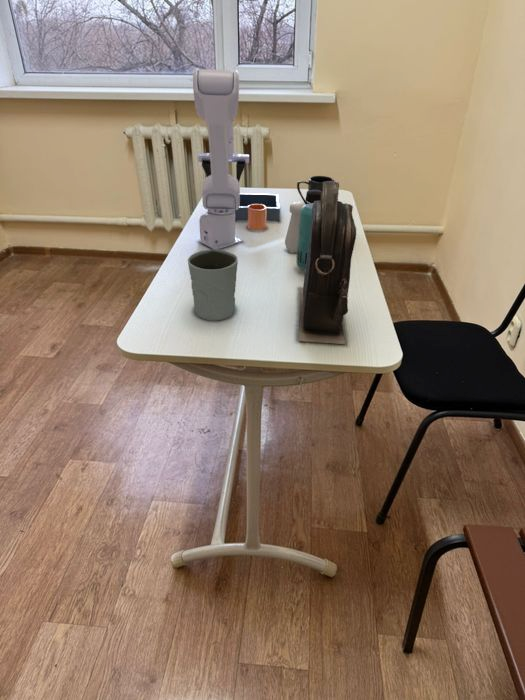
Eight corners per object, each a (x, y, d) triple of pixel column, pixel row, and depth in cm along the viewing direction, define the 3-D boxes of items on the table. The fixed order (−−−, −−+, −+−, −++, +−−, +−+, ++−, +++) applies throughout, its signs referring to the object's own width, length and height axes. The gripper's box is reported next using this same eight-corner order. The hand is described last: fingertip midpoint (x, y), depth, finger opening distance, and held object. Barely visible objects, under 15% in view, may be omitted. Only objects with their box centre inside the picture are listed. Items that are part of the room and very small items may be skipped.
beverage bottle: (322, 266, 122) (331, 188, 110) (318, 278, 117) (327, 197, 105) (298, 263, 123) (304, 185, 111) (292, 274, 118) (298, 193, 106)
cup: (255, 233, 139) (256, 211, 135) (243, 227, 142) (244, 206, 139) (269, 228, 142) (270, 207, 138) (257, 223, 145) (258, 202, 142)
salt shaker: (305, 255, 127) (309, 207, 120) (284, 254, 127) (287, 206, 120) (304, 246, 132) (308, 200, 125) (284, 245, 132) (286, 199, 125)
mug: (294, 204, 161) (295, 175, 156) (328, 204, 162) (331, 175, 156) (296, 212, 154) (298, 182, 149) (333, 212, 155) (336, 183, 150)
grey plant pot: (195, 324, 98) (192, 272, 91) (187, 301, 106) (184, 251, 99) (243, 318, 100) (243, 266, 93) (232, 296, 108) (231, 246, 101)
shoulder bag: (299, 288, 112) (310, 165, 96) (338, 290, 112) (355, 167, 95) (298, 342, 94) (311, 201, 77) (344, 345, 93) (367, 204, 77)
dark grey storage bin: (279, 222, 147) (279, 208, 144) (235, 221, 146) (235, 207, 144) (277, 207, 158) (278, 194, 155) (237, 206, 157) (237, 193, 155)
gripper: (249, 135, 136) (249, 184, 143) (198, 134, 135) (201, 182, 143) (248, 141, 130) (248, 191, 138) (196, 139, 130) (198, 189, 137)
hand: (224, 187), depth 140 cm, fingers open, 7 cm apart
